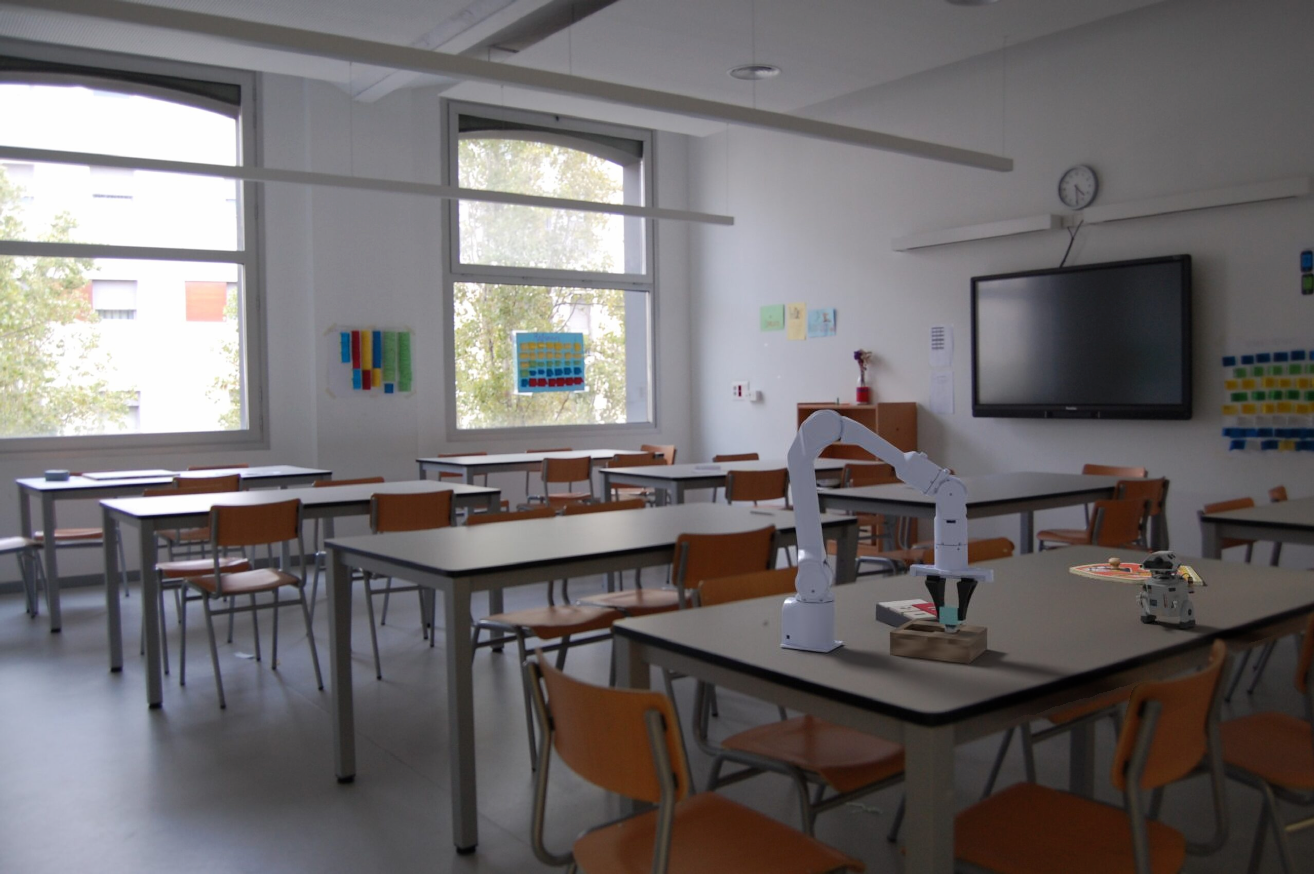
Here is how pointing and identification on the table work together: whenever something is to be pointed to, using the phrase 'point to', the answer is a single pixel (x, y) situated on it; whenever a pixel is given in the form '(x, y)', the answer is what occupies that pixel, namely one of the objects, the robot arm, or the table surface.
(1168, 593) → the figurine
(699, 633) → the table surface
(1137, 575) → the knob puzzle
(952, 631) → the peg
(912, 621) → the keyhole plate
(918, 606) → the calculator
